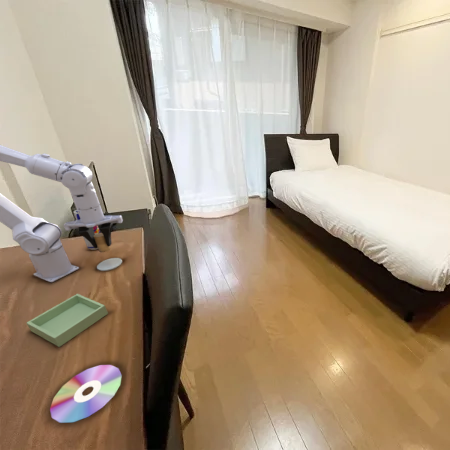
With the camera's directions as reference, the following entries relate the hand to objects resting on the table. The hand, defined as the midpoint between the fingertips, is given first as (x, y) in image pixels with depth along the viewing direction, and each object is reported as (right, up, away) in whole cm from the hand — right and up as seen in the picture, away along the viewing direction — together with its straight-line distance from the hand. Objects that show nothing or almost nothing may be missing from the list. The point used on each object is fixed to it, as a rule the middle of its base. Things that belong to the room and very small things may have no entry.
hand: (103, 245), depth 87 cm
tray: (+6, -18, -19) cm, 27 cm away
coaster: (0, -6, +3) cm, 7 cm away
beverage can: (-12, -2, +13) cm, 18 cm away
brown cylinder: (0, -1, +1) cm, 2 cm away
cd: (+22, -25, -35) cm, 48 cm away
